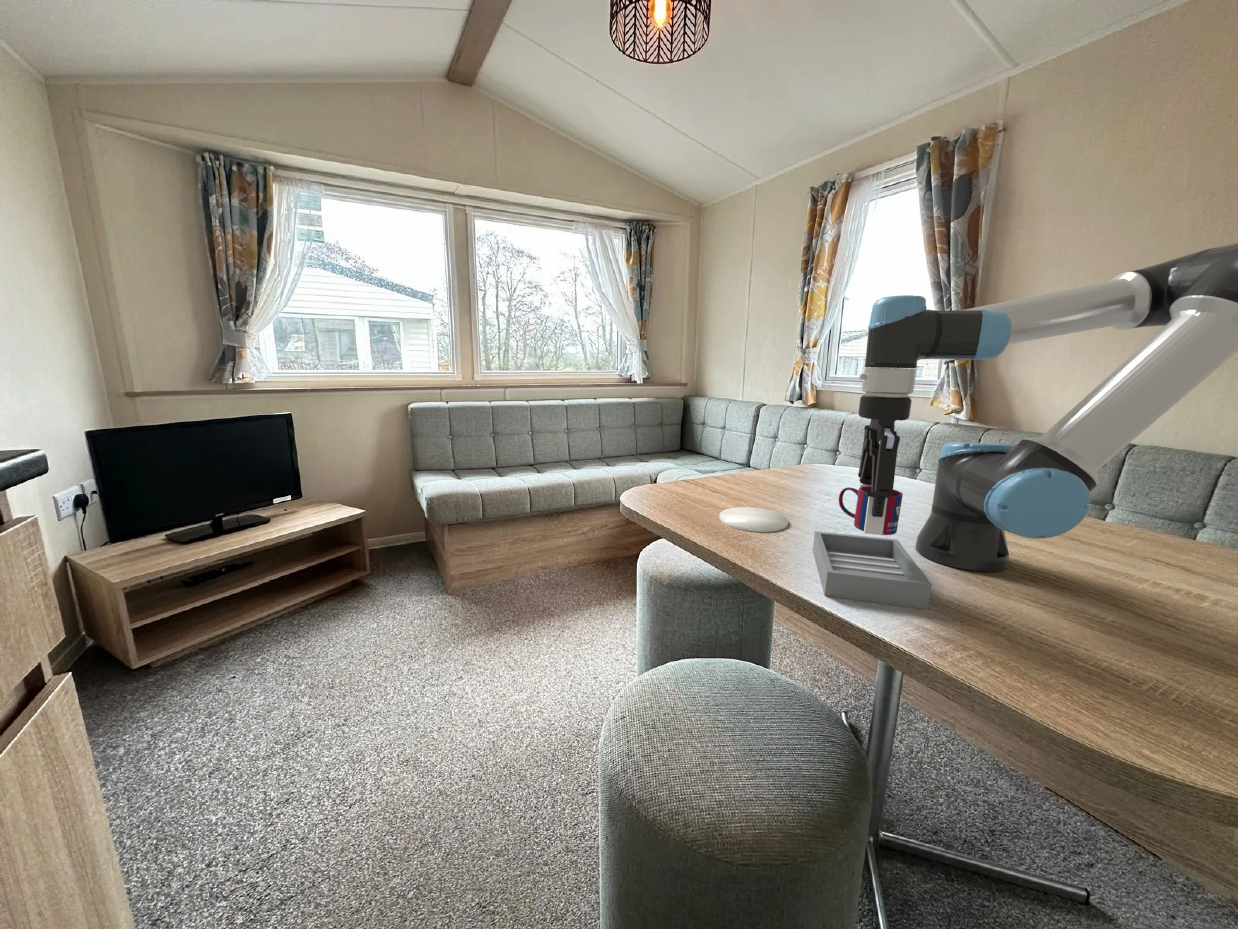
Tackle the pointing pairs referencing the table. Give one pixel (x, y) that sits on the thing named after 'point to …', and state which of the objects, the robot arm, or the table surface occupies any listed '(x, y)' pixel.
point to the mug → (861, 509)
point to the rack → (869, 570)
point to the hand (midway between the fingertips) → (868, 526)
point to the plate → (753, 519)
